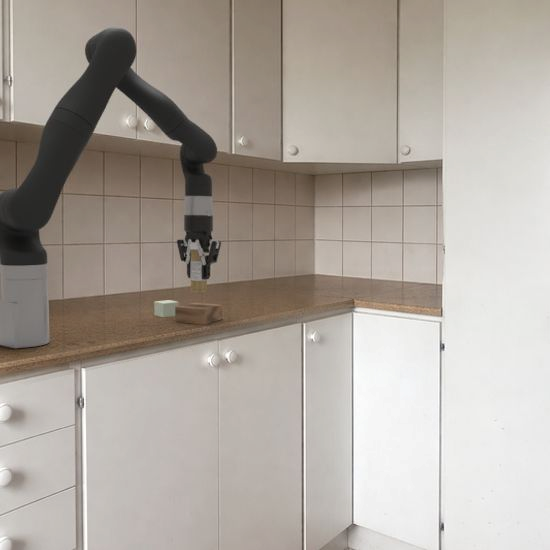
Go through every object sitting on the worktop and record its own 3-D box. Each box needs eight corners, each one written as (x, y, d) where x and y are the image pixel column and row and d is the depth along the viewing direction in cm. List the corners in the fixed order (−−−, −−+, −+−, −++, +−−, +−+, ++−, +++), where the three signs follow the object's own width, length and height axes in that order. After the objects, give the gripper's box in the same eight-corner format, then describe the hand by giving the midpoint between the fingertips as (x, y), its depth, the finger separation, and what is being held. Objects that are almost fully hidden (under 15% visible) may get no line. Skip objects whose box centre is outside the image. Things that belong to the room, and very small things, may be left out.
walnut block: (204, 324, 150) (204, 309, 150) (175, 321, 154) (175, 306, 154) (222, 319, 158) (222, 304, 158) (193, 316, 162) (193, 302, 162)
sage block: (163, 317, 161) (163, 303, 160) (154, 315, 165) (154, 301, 164) (179, 316, 164) (179, 302, 164) (170, 313, 168) (170, 300, 168)
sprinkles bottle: (199, 290, 159) (200, 241, 157) (210, 292, 156) (211, 242, 154) (186, 292, 155) (186, 241, 154) (197, 294, 152) (197, 242, 151)
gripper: (168, 213, 154) (169, 277, 156) (209, 213, 146) (209, 281, 148) (188, 213, 161) (188, 275, 162) (228, 214, 153) (228, 279, 154)
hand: (198, 278), depth 155 cm, fingers closed on sprinkles bottle, 4 cm apart
